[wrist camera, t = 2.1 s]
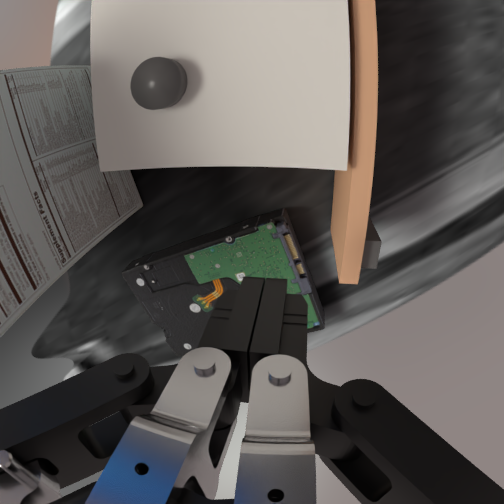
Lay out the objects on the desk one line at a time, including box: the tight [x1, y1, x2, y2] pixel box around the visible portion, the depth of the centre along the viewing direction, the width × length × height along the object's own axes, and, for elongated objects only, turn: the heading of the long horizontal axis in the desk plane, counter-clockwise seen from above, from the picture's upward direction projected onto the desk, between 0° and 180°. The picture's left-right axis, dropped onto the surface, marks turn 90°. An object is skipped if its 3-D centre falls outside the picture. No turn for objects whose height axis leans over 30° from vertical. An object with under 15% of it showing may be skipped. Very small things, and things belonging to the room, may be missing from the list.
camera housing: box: [90, 0, 350, 172], centre depth 12 cm, size 18×12×9 cm
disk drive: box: [122, 208, 325, 356], centre depth 26 cm, size 10×3×15 cm
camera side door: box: [331, 0, 381, 284], centre depth 13 cm, size 22×2×7 cm, turn 1°
